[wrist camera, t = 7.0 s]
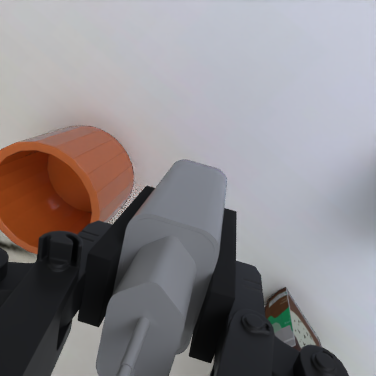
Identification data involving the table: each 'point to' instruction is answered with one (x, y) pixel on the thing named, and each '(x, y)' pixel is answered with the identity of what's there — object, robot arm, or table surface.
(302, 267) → the table surface
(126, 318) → the power adapter
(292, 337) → the food container
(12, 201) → the orange flower pot
